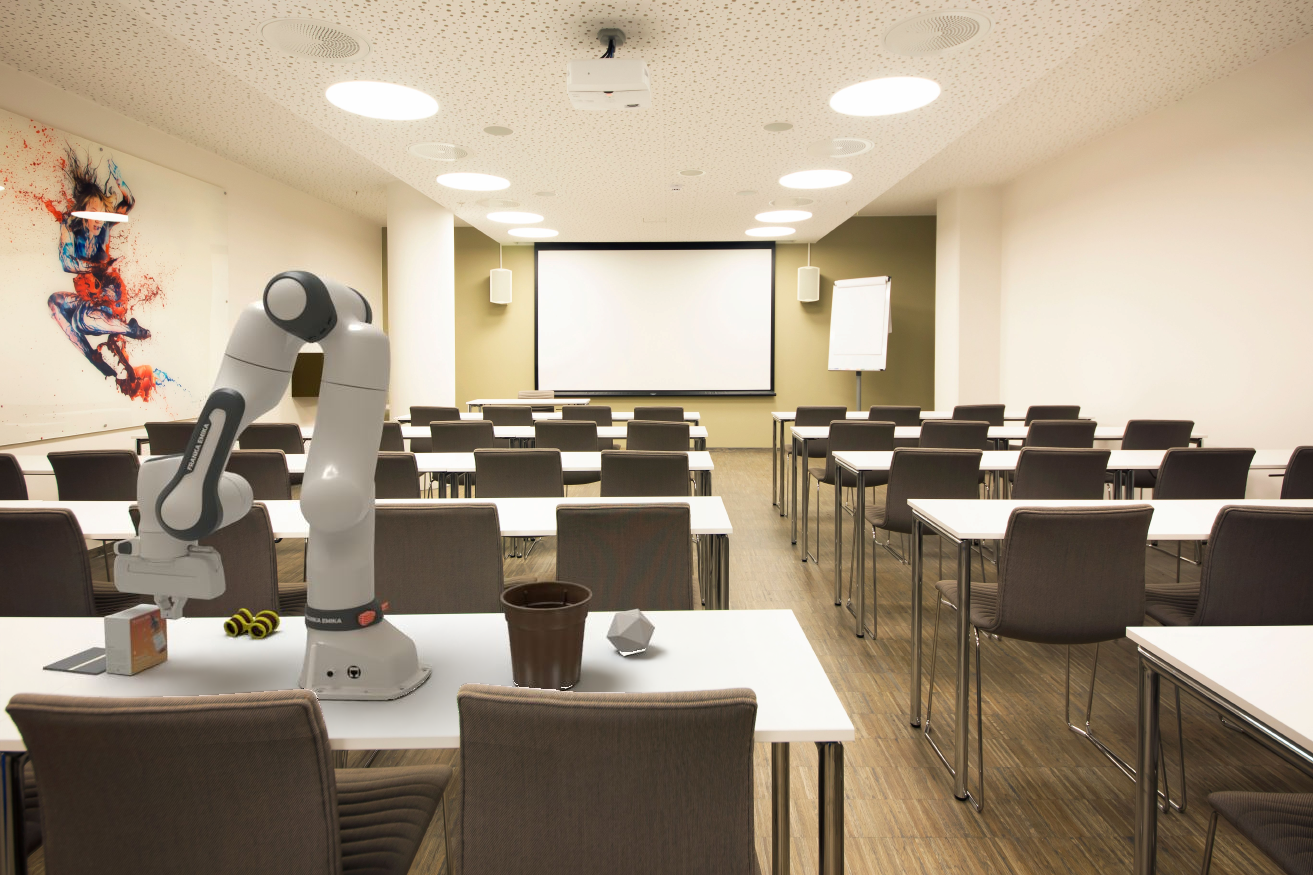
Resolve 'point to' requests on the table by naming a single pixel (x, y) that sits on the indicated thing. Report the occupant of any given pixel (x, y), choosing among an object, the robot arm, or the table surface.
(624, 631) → the die
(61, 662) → the mat
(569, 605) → the plant pot
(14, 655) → the table surface
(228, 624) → the opera glasses
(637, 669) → the table surface
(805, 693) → the table surface
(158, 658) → the small box
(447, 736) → the table surface
